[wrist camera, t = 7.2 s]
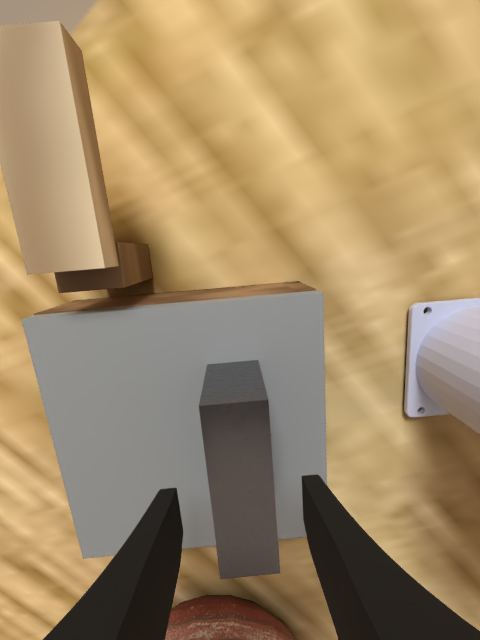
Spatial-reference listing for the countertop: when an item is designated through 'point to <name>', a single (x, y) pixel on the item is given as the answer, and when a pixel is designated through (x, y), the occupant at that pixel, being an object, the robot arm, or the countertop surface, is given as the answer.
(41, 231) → the thin wooden plank
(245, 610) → the pottery
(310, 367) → the lid
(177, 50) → the countertop surface
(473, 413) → the robot arm
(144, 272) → the box
